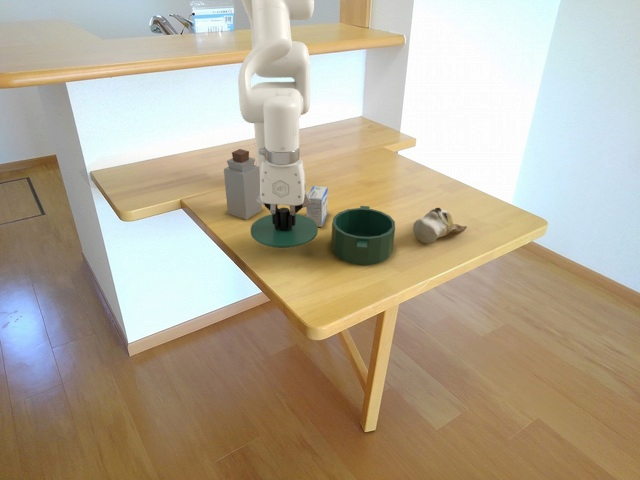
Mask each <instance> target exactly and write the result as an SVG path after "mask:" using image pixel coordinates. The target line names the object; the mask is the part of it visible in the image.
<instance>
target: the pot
mask: <svg viewBox="0 0 640 480" xmlns="http://www.w3.org/2000/svg"><path fill="white" fill-rule="evenodd" d="M359 206H360V207H355V208H347V209H345V210H342V211H340V212H338V213H337V214H335V215H334V217H333V218H332V222H331V251H332V253H333V254H334V256H335V257H336V258H338V259H339V260H340V261H343V262H346V263H348V264H352V265H357V266H373V265H378V264H382V263H383V262H385V261H387V260H388V259H389V258H390V257H391V256H392V253H393V250H394V244H395V243H394V242H395V233H396V221H395V220H394V218H392V217H391V215H388V214H387V213H385V212H383V211H381V210H378V209H373V208H370V206H368V205H359Z"/></svg>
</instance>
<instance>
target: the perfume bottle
mask: <svg viewBox="0 0 640 480" xmlns="http://www.w3.org/2000/svg"><path fill="white" fill-rule="evenodd" d="M231 156H232V158H230V159H228V160H226V163H227V165H228V166H227V167H225V168H223V174H224V175H223V177H224V186H225V198H226V207H227V214H228V215H232V216H235V217H238V218H240V219H243V220H248V219H250V218H252V217H253V216H255V215H256V214H258V213H259V212H262V204H260V203H258V202H257V201H256V199H257V197H258V195H259V193H260V172H259V166H257V165H255V163H256V158H253V157H250V151H249V150H246V149H242V148H238V149H235V150H234V151H232V152H231Z"/></svg>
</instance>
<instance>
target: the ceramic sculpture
mask: <svg viewBox="0 0 640 480" xmlns="http://www.w3.org/2000/svg"><path fill="white" fill-rule="evenodd" d="M467 228H468V226H467V225H461V224H457V223H453V217H452V214H451V213H450V212H449V211H447V210H445V209H443V208H441V207H435V208H433V209H430V210H429V212H428V213H426V214H425V215H424V216H423V217H422V218H418V219H417V220H415V222H414V223H413V234H414V236H415V238H416V239H418V241H419V242H421V243H422V244H428V245H432V244H433V243H435V242H436V240H437V239H438V238H442V237H445V236H458V235H460V234H462V233H464V232H465V230H466V229H467Z"/></svg>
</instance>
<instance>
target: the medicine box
mask: <svg viewBox="0 0 640 480" xmlns="http://www.w3.org/2000/svg"><path fill="white" fill-rule="evenodd" d="M328 191H329V189H328V187H327V186H320V185H319V186H318V185H313V186H312V187H311V189H310V190H309V192H308V193H307V194H308V196H309V198H310V200H311V204H310V205H309V206H307V207H305V212H306V213H305V214H306V215H305V216H306V217H308V218H310V219H312V220H313V221H314V222H315V223H316V224H317V227H318V228H322V227H323V225H324V223H325V221H326V218H327V215H328V201H329V199H328V198H329V197H328V194H329V193H328Z"/></svg>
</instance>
